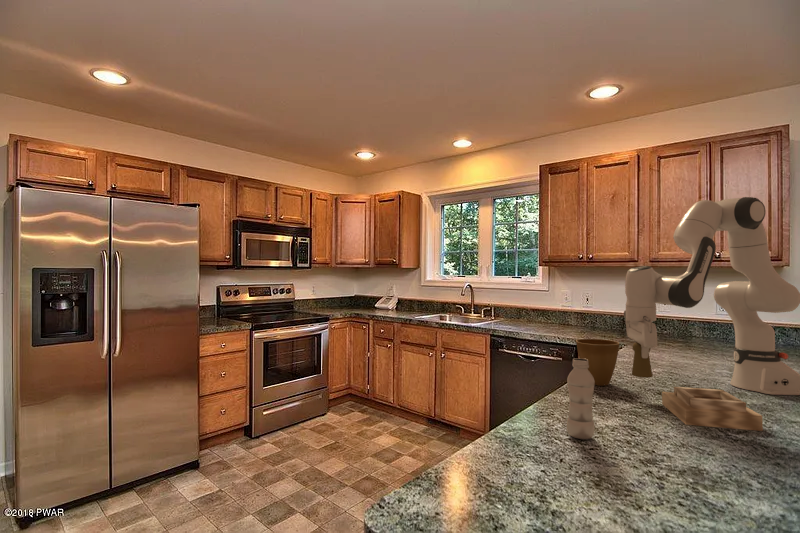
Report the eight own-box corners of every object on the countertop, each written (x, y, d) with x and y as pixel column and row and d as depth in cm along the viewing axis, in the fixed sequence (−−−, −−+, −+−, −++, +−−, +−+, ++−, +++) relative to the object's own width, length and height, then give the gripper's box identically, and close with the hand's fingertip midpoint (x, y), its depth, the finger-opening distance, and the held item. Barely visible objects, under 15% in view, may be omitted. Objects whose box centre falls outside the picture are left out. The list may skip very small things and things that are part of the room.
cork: (656, 377, 134) (655, 344, 134) (636, 377, 135) (635, 343, 135) (647, 373, 140) (646, 340, 140) (628, 372, 141) (627, 340, 141)
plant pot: (621, 381, 159) (620, 340, 159) (617, 391, 146) (617, 346, 146) (579, 376, 167) (579, 336, 167) (572, 384, 154) (572, 342, 154)
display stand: (727, 409, 127) (727, 388, 127) (762, 431, 110) (762, 406, 110) (662, 404, 132) (662, 383, 132) (685, 424, 114) (685, 401, 114)
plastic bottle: (562, 433, 109) (561, 357, 109) (586, 432, 109) (586, 356, 109) (574, 443, 102) (574, 362, 102) (600, 442, 103) (600, 362, 103)
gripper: (662, 318, 126) (663, 363, 126) (641, 311, 146) (642, 350, 146) (640, 318, 128) (640, 362, 128) (622, 311, 148) (623, 349, 148)
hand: (641, 356), depth 137 cm, fingers closed on cork, 4 cm apart
